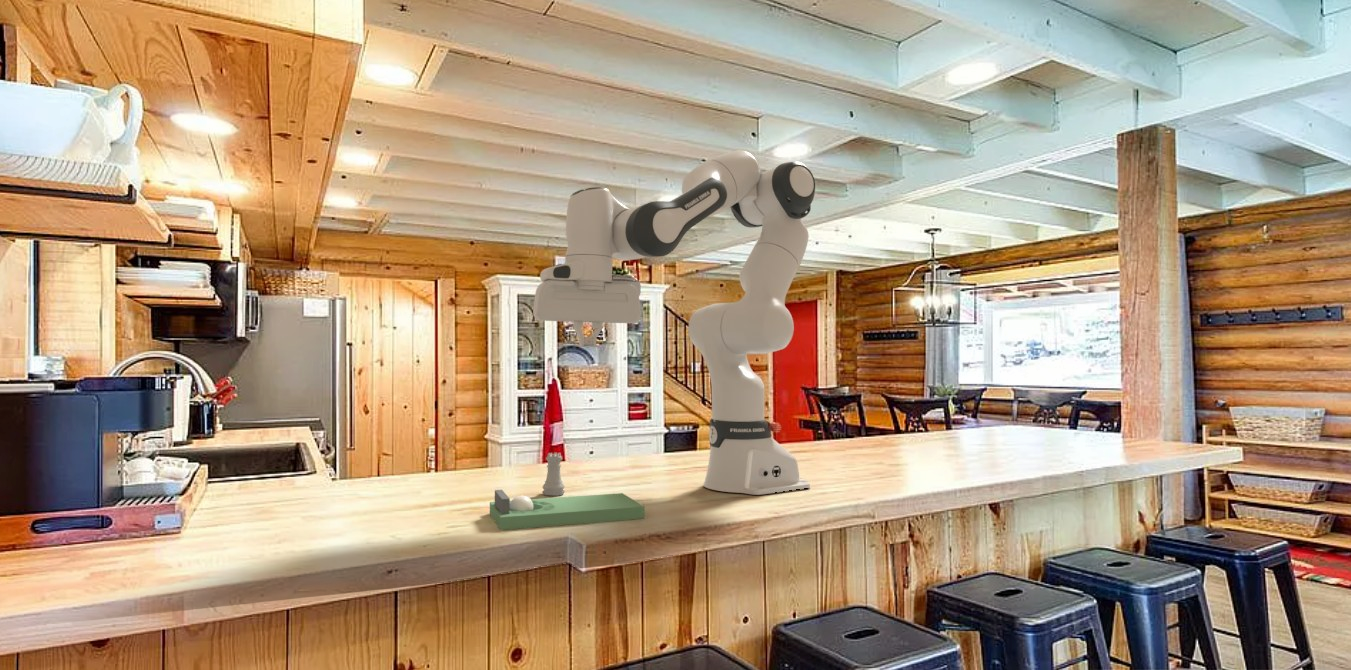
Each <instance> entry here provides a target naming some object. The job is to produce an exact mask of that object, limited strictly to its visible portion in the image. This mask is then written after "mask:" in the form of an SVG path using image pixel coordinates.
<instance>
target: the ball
mask: <svg viewBox="0 0 1351 670" xmlns="http://www.w3.org/2000/svg"><path fill="white" fill-rule="evenodd" d="M510 501H511V502H510V509H511V510H515V511H530V510H533V502H532V501H531V498H530V497H528V496H526V495H522V494H521V495H517V496H515V497H514V498H512V499H511V500H510Z"/></svg>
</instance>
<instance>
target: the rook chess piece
mask: <svg viewBox="0 0 1351 670" xmlns="http://www.w3.org/2000/svg"><path fill="white" fill-rule="evenodd" d="M545 460H546V461H547V465H546V467H547V473H546V479H545V481H544V484H543V485H542V489H543V490H542V492H541V493H542V495H543V496H545V497H561V496H563V495H564V494H565V492H566V491H565V490H564V489H565V484H564V483H563V480H562V476H561V475H562V474H561V467H562V465H561V461H562V460H563V456H562V455H561V452H554V453H553V452H548V453H547V456H546V457H545Z"/></svg>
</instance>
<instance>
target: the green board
mask: <svg viewBox="0 0 1351 670" xmlns="http://www.w3.org/2000/svg"><path fill="white" fill-rule="evenodd" d="M530 499H531V498H530ZM511 501H512V500H511V499H510V497H509V496H508V495H507V494H506V492H505V491H504V490H503V489H494V501H490V502H489V515H490V516H491V518H492V519H493V521H494V523H495V524H496V526H497V527H498V529H499V531H507V530H516V529H517V530H518V529H519V530H520V529H530V528H532V527H533V528H541V527H543V528H545V527H554V526H557V527H558V526H566V525H567V526H569V525H579V524H590V523H592V524H594V523H604V522H615V521H617V522H618V521H629V520H631V521H632V520H641V519H645V506H644V505H643V504H641V503H640V502H638V501H636V500H634V499H633V498H631V497H630V496H628V495H627V494H624V493H623V492H622V493H621V492H620V493H606V494H591V495H577V496H576V495H575V496H563V497H561V496H557V497H545V498H544V497H543V498H532V499H531V501H532V502H533V510H530V511H515V510H511V509H510V502H511Z"/></svg>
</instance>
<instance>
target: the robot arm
mask: <svg viewBox="0 0 1351 670" xmlns="http://www.w3.org/2000/svg"><path fill="white" fill-rule="evenodd" d="M681 193H682V194H680V195H678V196H677V197H675V198H674V199H672V200H670V201H669V200H668V201H665V200H664V201H663V200H662V201H661V200H658V201H650V202H647V203H645V204H642V205H640V206H637V207H633V208H629V207H627V206H626V205H624V204H622V203H621V202H619V200H617V198H616V197H614V195H612V193H611V191H610V189H608V188H606V187H601V186H594V187H587V188H581V189H579V190H577V191H575V192H573V193H572V194H571V195H570V197H569V199H568V202H567V209H566V216H565V217H566V219H565V236H566V240H567V249H566V253H565V255H564V257H565V258H564V259H565V260H564V261H565V262H564V263H557V264H555V265H554V266H549V267H547V268H544V269H542V270H541V272H540V275H539V276H540V280H541V283H539V284H538V285H537V288H536V290H535V294H534V300H533V309H532V311H533V312H532V316H533V317H534V319H535V320H536V321H538V322H539V321H540V322H541V321H543V322H545V321H546V322H573V323H572V324H573V327H572V328H573V330H574V332H575V333H576V336H577V337H578V346H579V347H591V348H592V347H596V346H597V337H598V336H600V335H599V334H600V333H601V331H602V330H603V323H605V324H607V323H609V324H637V323H638V322H639V321H640V320H641V318H642V312H641V302H640V301H641V300H640V296H641V291H642V290H641V282H640V280H638V279H637V278H635V277H634V276H633V275H621V274H613V259H614V260H619V261H627V262H628V261H632V260H640V259H645V258H655V257H658V258H659V257H664V256H667V255H669V254H670V253H672V252H673V251H675V249H676V247H678V246H679V244H680V242H681V241H682V239H683V237H684V236H685V234H686V233H687V232H688V231H689V230H691V229H692V228H693V227H695V226H696V225H697V224H699V223H700V222H702V221H703V220H705V219H707V218H708V217H711V216H715V215H718V214H720V213H723V212H724V211H726V210H728V209H729V208H730V210H731V213H732V214H733V216H734V217H735V219H736V220H737V221H738V223H739V224H740V225H742V226H744V227H745V228H761V232H760V236H759V238H758V240H757V241H756V242H755V245H754V247H753V248H752V250H751V252H750V254H749V255H748V257H747V258H746V261H745V263H744V264H743V266H742V268H741V270H740V272H739V276H738V277H739V283H740V286H741V288H742V289H743V291H744V292H745V293H744V295H743V297H742V298H741V299H740V300H738V301H735V302H733V301H732V302H721V303H719V302H718V303H712V304H708V305H707V306H703V307H700V308H698V309H696V310H695V311H693V314H692V315H691V316H690V319H689V322H688V327H687V328H688V329H687V330H688V336H689V339H690V341H691V343H692V344H693V345H694V346H695V348H696V349H697V350H698V351H699V352H700V354H701V355H702V357H703V359H704V361H705V364H706V367H707V370H708V374H709V379H710V384H711V418H710V420H709V435H708V437H709V445H710V449H709V451H710V452H709V458H708V465H707V470H706V475H705V478H704V481H703V484H702V487H705V488H707V489H709V490H713V491H719V492H724V493H726V492H727V493H737V494H739V493H740V494H747V495H754V496H755V495H757V496H761V495H767V494H775V492H777V493H782V492H783V491H785V492H790V491H789V490H792V491H797V490H796V489H800V490H805V489H804V488H808V489H810V488H811V485H810V483H811V482H809V481H808V480H806V479H804V478H801V477H800V471H799V465H798V462H797V458H796V457H795V455H793V454H792V453H791V452H790V451H788V450H787V449H786V448H785V447H784V446H783V445H781V444H780V443H779V442H778V441H776V439H774V438H773V437H772V435H773V434H772V432H773V433H780V431H781V430H782V425H781V424H780V423H779V422H775V421H773V422H769V421H767V420H766V419H765V393H766V392H765V391H766V390H765V384H764V381H763V380H762V379H761V377H760V376H758V374H756V373H755V372H754V371H753V369H752V367H751V365H750V363H749V360H748V355H766V354H770V353H774V352H777V351H778V352H779V351H780V350H784V349H785V348H787V347H788V345H789V344H790V342H791V341H792V339H793V336H794V330H795V327H794V325H795V324H794V320H793V319H794V318H793V317H792V314H791V312H790V310H789V309H788V308H787V307H786V305H785V304H786V303H785V302H786V298H787V294H788V291H789V289H790V287H791V285H792V283H793V280H794V278H795V277H796V274H797V272H798V270H799V268H800V266H801V264H802V261H803V259H804V257H805V253H806V250H807V247H808V244H809V243H808V242H809V237H810V236H809V231H808V228H807V227H806V225H805V224H804V222H802V219H803V218H805V217H806V216H808V215H809V213H810V212H811V207H812V206H811V204H812V203H813V200H814V197H815V194H816V180H815V177H814V175H813V173H812V171H811V170H810V168H809V167H808V166H807V165H805V163H802V162H800V161H789V162H788V161H787V162H784V163H781V164H778V165H777V166H776V167H773V168H771V169H768V170H765V171H763V170H761V169H760V165H759V162H758V161H757V159H756V158H755V157H754V155H753V154H751V153H750V152H748V151H746V150H742V149H737V150H732V151H729V152H725V153H722V154H719V155H716V156H715V157H712V158H710V159H708V160H705V161H704V162H702V163H701V164H699V165H697V166H696V167H694V168H693V169H692V170H691V171H689V173H687V174H686V175H685V176H684V177H683V180H682V184H681ZM584 323H592V326H591V327H592V329H594V330H593V332H592V334H591V335H590V336H585V335H584V332H583V331H582V329H583V328H584ZM783 493H784V492H783Z"/></svg>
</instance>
